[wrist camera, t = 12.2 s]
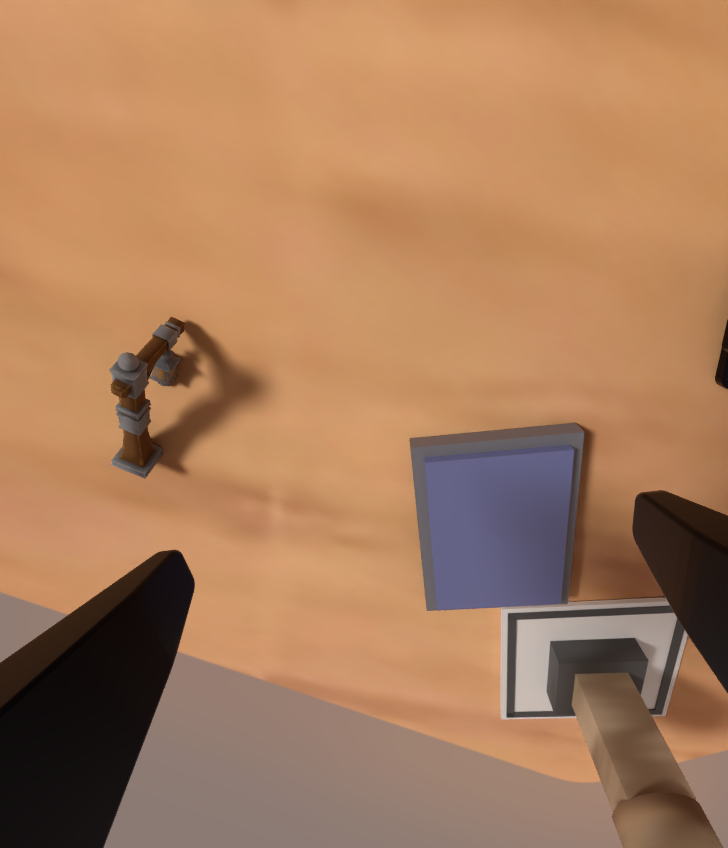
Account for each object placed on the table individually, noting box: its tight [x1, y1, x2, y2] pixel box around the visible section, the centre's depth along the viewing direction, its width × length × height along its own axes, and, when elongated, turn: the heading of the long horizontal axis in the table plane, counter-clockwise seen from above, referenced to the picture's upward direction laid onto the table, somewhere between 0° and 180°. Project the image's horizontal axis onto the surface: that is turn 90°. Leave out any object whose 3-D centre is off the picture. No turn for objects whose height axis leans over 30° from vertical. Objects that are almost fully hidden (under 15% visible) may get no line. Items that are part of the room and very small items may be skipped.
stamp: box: [546, 638, 723, 848], centre depth 22 cm, size 5×5×9 cm
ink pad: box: [410, 423, 584, 611], centre depth 22 cm, size 8×11×2 cm
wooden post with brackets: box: [110, 317, 184, 478], centre depth 19 cm, size 2×8×4 cm, turn 154°
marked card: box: [500, 597, 688, 719], centre depth 27 cm, size 11×11×1 cm
